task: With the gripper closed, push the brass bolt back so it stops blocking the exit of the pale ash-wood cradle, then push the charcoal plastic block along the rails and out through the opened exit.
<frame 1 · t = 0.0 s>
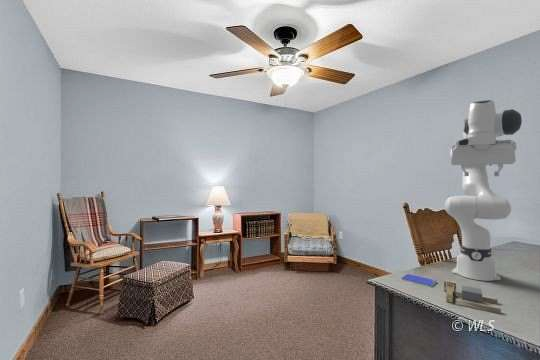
hand: (481, 176, 109), 48 cm above the table, tool pointing down, fingers open, 8 cm apart
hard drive: (419, 282, 127), on the table
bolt: (449, 292, 110), point 2 cm above the table, slide at 0.0 cm
cradle: (462, 300, 106), on the table
block: (471, 302, 105), on the table
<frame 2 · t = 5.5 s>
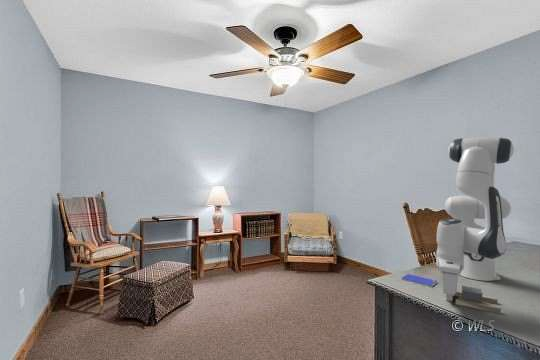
hand: (449, 298, 104), 1 cm above the table, tool pointing down, fingers closed
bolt: (449, 291, 111), point 1 cm above the table, slide at 1.2 cm, touching gripper
everything else where it was.
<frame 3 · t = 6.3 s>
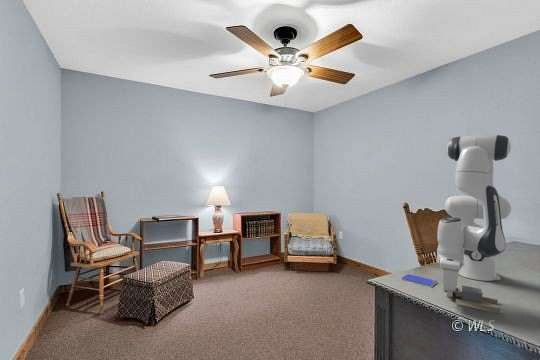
hand: (449, 294, 108), 1 cm above the table, tool pointing down, fingers closed
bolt: (449, 287, 115), point 2 cm above the table, slide at 5.9 cm, touching gripper
everything else where it was.
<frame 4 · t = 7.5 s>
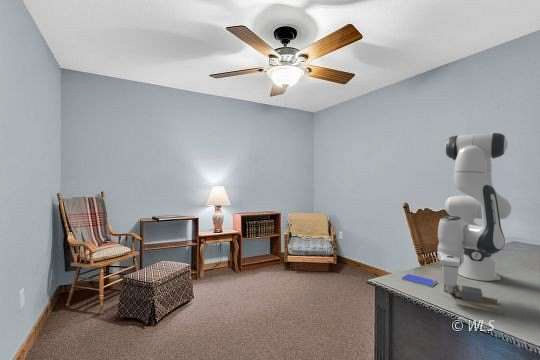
hand: (450, 290, 112), 2 cm above the table, tool pointing down, fingers closed
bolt: (450, 284, 119), point 2 cm above the table, slide at 10.4 cm, touching gripper
everything else where it was.
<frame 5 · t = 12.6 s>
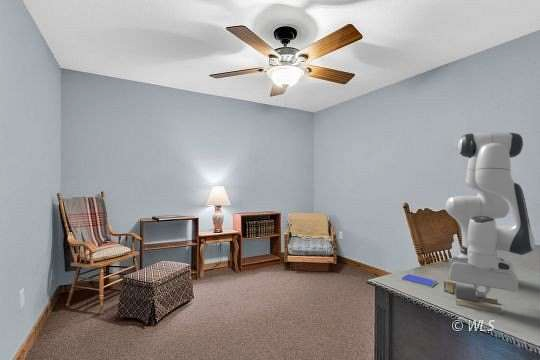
hand: (481, 297, 103), 3 cm above the table, tool pointing down, fingers closed
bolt: (450, 283, 120), point 1 cm above the table, slide at 11.2 cm
block: (465, 301, 106), on the table, touching gripper
everything else where it was.
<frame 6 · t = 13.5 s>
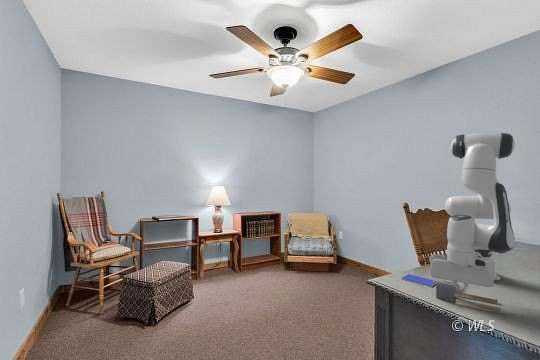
hand: (460, 293, 107), 3 cm above the table, tool pointing down, fingers closed
block: (445, 297, 109), on the table, touching gripper
everything else where it was.
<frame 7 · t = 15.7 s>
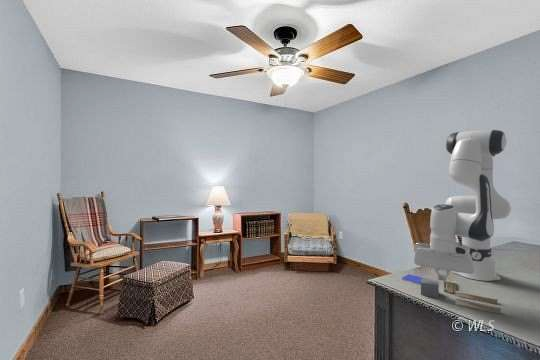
hand: (442, 279, 111), 6 cm above the table, tool pointing down, fingers closed
block: (429, 294, 113), on the table
everything else where it was.
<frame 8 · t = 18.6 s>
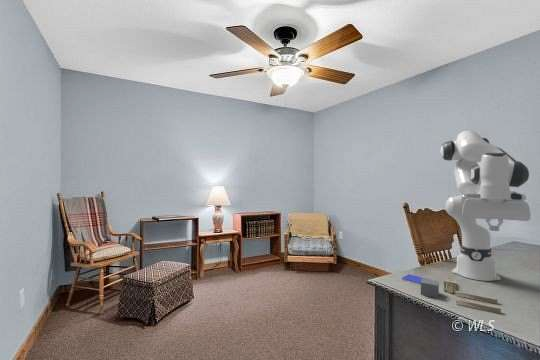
hand: (494, 230, 106), 27 cm above the table, tool pointing down, fingers closed
nothing on the table moved.
at the end: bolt slide at 11.2 cm; block inside the target area (1.5 cm from its centre), on the table; block tilted 0° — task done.
